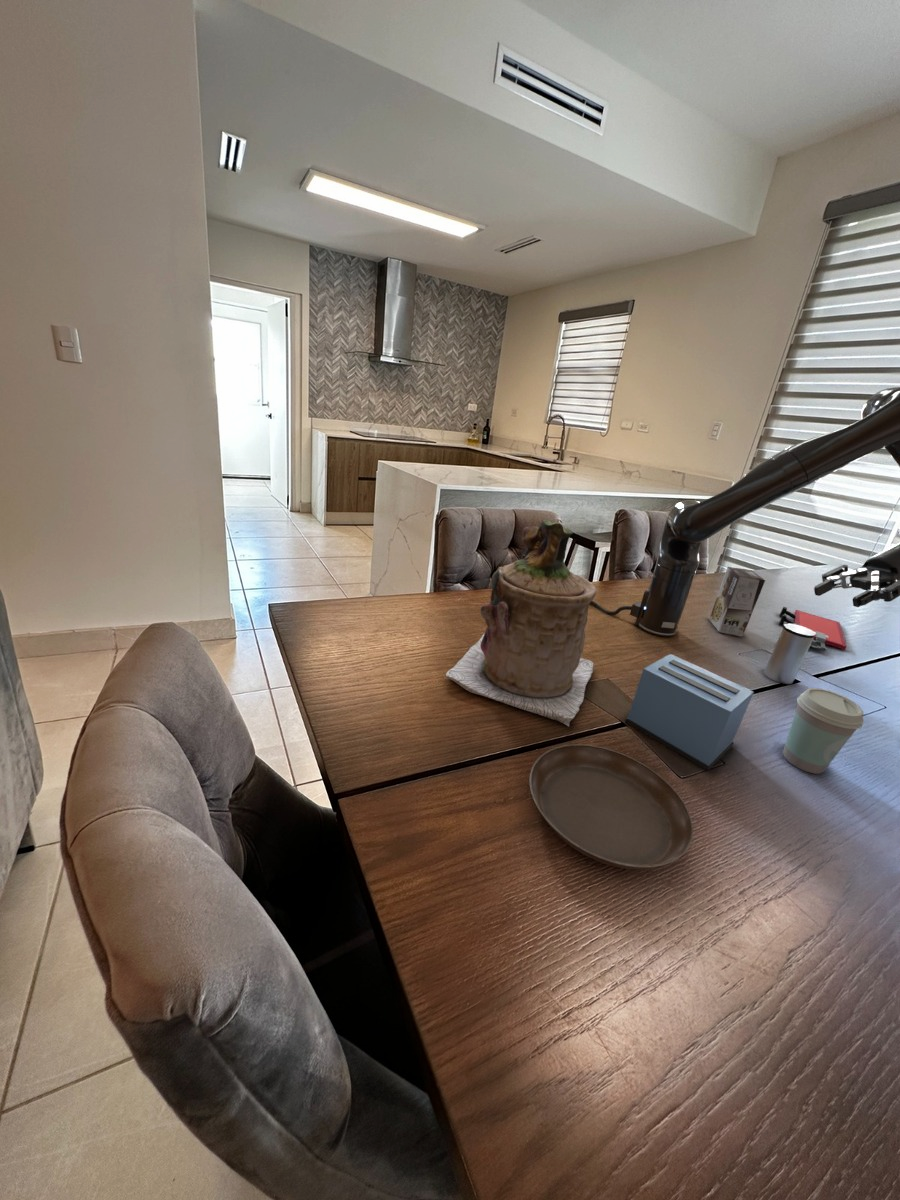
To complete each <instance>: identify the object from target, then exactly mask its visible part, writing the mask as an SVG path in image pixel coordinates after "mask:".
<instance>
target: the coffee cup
mask: <svg viewBox="0 0 900 1200" xmlns="http://www.w3.org/2000/svg"><path fill="white" fill-rule="evenodd" d="M796 702H797V706H796V708H795V712H794V715H793V718H792V722H791V724H790V728H789V731H788V735H787V738H786V741H785V743H784V744H785V745H784V748H783V751H782V755H783V757H784V759H786V761H787V762H788V763H790V765H793V766H794V767H796V768H797V769H799V770H802V771H804V772H807V773H811V774H814V775H815V774H819V775H820V774H822V773H824V772H825V771H826V769H827V768H828V767H829V765H830V764H831V763H832V762H833V761H834V759H835V758H836V757H837V755H838V754H839V753H840V751H841V750H842V749H843V748H844V746H845V745H846V744H847V742H848V741H849V740H850V738H851V737H852V736H853V734H854V733H855V732H856V731H857V729H861V728H862V727H863V723H864V710H863V709H862V707H861V706H860V705H859V704H857V703H856V702H855V701H853V700H852V699H850V698H848V697H846V696H844V695H842V694H840V693H837V692H835V691H831V690H827V689H823V688H818V687H811V688H807V689H806V690H805V691H803V693H801V694H799V696H798V697H797V699H796Z"/></svg>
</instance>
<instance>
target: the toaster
mask: <svg viewBox="0 0 900 1200" xmlns="http://www.w3.org/2000/svg"><path fill="white" fill-rule="evenodd" d="M754 694H755V692H754V691H753V690H752V689H749V688H746V687H745V686H743V685H740V684H738V683H736V682H733V681H731V680H729V679H727V678H724V677H722V676H720V675H718V674H716V673H714V672H711V671H710V670H707V669H705V668H703V667H701V666H698V665H696V664H694V663H692V662H690V661H687V660H685V659H683V658H681V657H679V656H676V655H675V654H673V653H669V654H667V655H665V656H663V657H662V658H660V659H658V660H656V661H655V662H652V663H651V664H649V665H647V666H645V667H643V668H642V672H641V675H640V678H639V681H638V684H637V688H636V690H635V694H634V697H633V700H632V704H631V707H630V709H629V714H628V716H627V717H626V718H625V720H624V722H625V723H627V724H628V725H630V726H631V727H633V728H635V729H636V730H638V731H640V732H641V733H643V734H645V735H647V736H648V737H650V738H651V739H654V741H657V742H658V743H660V744H661V745H663V746H665V747H666V748H669V749H670V750H672V751H673V752H674V753H677V754H678V755H680V756H682V757H684V758H685V759H687V760H689V761H690V762H692V763H694V764H695V765H697V766H698V767H700V768H702V769H704V770H705V771H707V772H708V771H709V770H710V769H711V768H712V767H714V765H715V764H716V763H717V762H718V761H720V759H721V758H722V757H723V756H724V755H725V754H727V752H728V751H729V750H730V749H731V748H733V746H734V744H735V742H734V739H735V737H736V735H737V733H738V730H739V728H740V726H741V723H742V721H743V718H744V716H745V714H746V712H747V710H748V707H749V705H750V703H751V700H752V698H753V695H754Z"/></svg>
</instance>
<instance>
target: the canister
mask: <svg viewBox="0 0 900 1200" xmlns="http://www.w3.org/2000/svg"><path fill="white" fill-rule="evenodd" d="M815 635H816V634H815V632H813V631H812V630H810V629H808V628H806V627H803V626H800V625H796V624H788V623H784V624H783V626H782V629H781V631H780V634H779V637H778V639H777V641H776V644H775V646H774V647H773V651H772V653H771V655H770V657H769V660H768V662H767V664H766V667H765V669H764V671H763V673H764V675H765V676H766V677H767V678H768V679H770V680H772V681H774V682H777V683H780V684H785V685H792V684H793V683H794V681H795V679H796V677H797V675H798V672H799V671H800V668H801V666H802V664H803V662H804V660H805V657H806V655H807V653H808V651H809V649H810V647H811V646H810V645H811V642H812V640H813V638H814V637H815Z"/></svg>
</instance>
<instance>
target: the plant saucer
mask: <svg viewBox="0 0 900 1200" xmlns="http://www.w3.org/2000/svg"><path fill="white" fill-rule="evenodd" d="M529 789H530V793H531V797H532V799H533V801H534V804H535V807H536V809H537V810H538V812H539V814H540V815H541V817H542V818H543V820H544V821H545V823H546V824H547V825H548V827H549V828H550V829H551V830H552V831H553V832H554V833H555V835H557V836H558V837H559V838H560V839H561V840H562V841H563V842H564V843H566V845H568V846H569V847H571V848H572V849H574V850H575V851H576V852H578V853H580V854H582V855H583V856H586V857H588V858H589V859H591V860H594V861H596V862H599V863H600V864H604V865H607V866H611V867H615V868H618V869H619V868H620V869H626V870H650V869H656V868H660V867H664V866H667V865H669V864H671V863H673V862H675V861H677V860H679V859H680V858H681V857H683V856H684V855H685V854H686V853H687V851H688V850H689V849H690V847H691V844H692V842H693V838H694V823H693V819H692V816H691V813H690V811H689V808H688V807H687V805H686V803H685V802H684V800H683V799H682V796H680V794H679V793H678V792H677V791H676V790H675V788H674V787H673V786H672V785H671V784H670V783H669V782H668V781H667V780H666V779H664V777H663V776H661V775H660V774H659V773H657V772H656V771H655V770H653V769H652V768H650V767H649V766H647V765H645V764H644V763H642V762H641V761H639V760H637V759H635V758H633V757H631V756H629V755H626V754H624V753H622V752H619V751H617V750H614V749H610V748H606V747H602V746H598V745H592V744H583V743H581V744H565V745H560V746H556V747H553V748H551V749H549V750H547V751H545V752H543V753H542V754H541V755H540V756H539V757H538V758H537V759H536V760H535V762H534V763H533V764H532V767H531V770H530V773H529Z"/></svg>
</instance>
